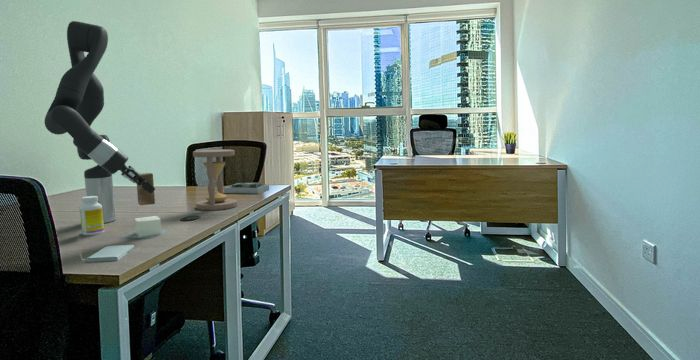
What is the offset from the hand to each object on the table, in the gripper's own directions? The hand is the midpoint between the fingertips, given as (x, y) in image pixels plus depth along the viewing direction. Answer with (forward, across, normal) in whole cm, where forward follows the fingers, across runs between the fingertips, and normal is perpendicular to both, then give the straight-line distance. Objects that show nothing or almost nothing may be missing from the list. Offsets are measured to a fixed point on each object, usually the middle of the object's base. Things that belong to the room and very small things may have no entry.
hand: (151, 190), depth 150 cm
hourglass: (+33, +37, -12) cm, 51 cm away
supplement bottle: (-2, +13, +23) cm, 26 cm away
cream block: (+9, 0, +12) cm, 15 cm away
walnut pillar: (+2, 0, +4) cm, 5 cm away
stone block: (+52, +70, -31) cm, 92 cm away
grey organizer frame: (+52, +72, -32) cm, 94 cm away
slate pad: (+9, 0, +12) cm, 15 cm away
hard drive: (+1, -19, +22) cm, 29 cm away
